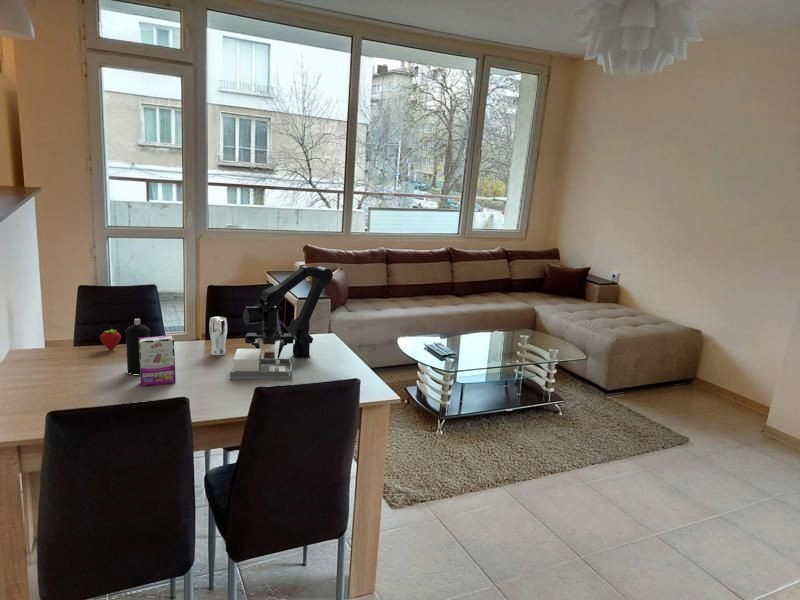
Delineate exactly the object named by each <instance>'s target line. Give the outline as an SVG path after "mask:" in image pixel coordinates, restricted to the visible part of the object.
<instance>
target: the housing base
mask: <svg viewBox="0 0 800 600" xmlns="http://www.w3.org/2000/svg"><path fill="white" fill-rule="evenodd" d="M292 368H293V356H291V357H290V358H279V359H278V358H275V359H264V358H261V363H259V371H233V368H232V370H231V371H229V380H230V379H242V380H244V379H256V380H292V378H293V377H292V376H293V375H292V374H293V373H292V371H293V369H292Z"/></svg>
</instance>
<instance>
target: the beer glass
mask: <svg viewBox="0 0 800 600" xmlns="http://www.w3.org/2000/svg"><path fill="white" fill-rule="evenodd" d="M227 319H228V318H227V317H226V316H225V317H224V316H213V317H210V318H209V325H208V326H209V327H208V328H209V329H208V331H209V336H210V337H209V338H210V343H211V349H210V355H211V356H214V355H215V356H214V357H218V356H219V357H220V355H222V356H225V355H226V354H227V349H226V340H227V335H228V321H227Z"/></svg>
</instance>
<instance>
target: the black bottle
mask: <svg viewBox="0 0 800 600" xmlns="http://www.w3.org/2000/svg"><path fill="white" fill-rule="evenodd" d="M133 323H134V324H132V325H130V326H128V327H127V328H126V330H124V333H125V341H126V342H125V343H126V344H125V345H126V364H127V365H126V366H127V371H128V373H131V374H140V357H139V338H146V337H151V334H150V332H151V329H150V328H149V327H148V326H146V325H144V324H141V319H140V318H134V320H133ZM128 373H127V374H128Z"/></svg>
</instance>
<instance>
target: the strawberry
mask: <svg viewBox="0 0 800 600" xmlns="http://www.w3.org/2000/svg"><path fill="white" fill-rule="evenodd" d="M121 338H122V336H121V333H119V331H117V330H116V329H113V328H111V329H109V330H104V331H103V333H101V334H100V336H99V339H100V342H101V343H102V345H103V346H104V347H106V348H107V349H108V350H109V349H110V350H109V351H113V350H114V349H115V348H116V347H117V346H118V345H119V343H120V342H121ZM112 349H113V350H112Z"/></svg>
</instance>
